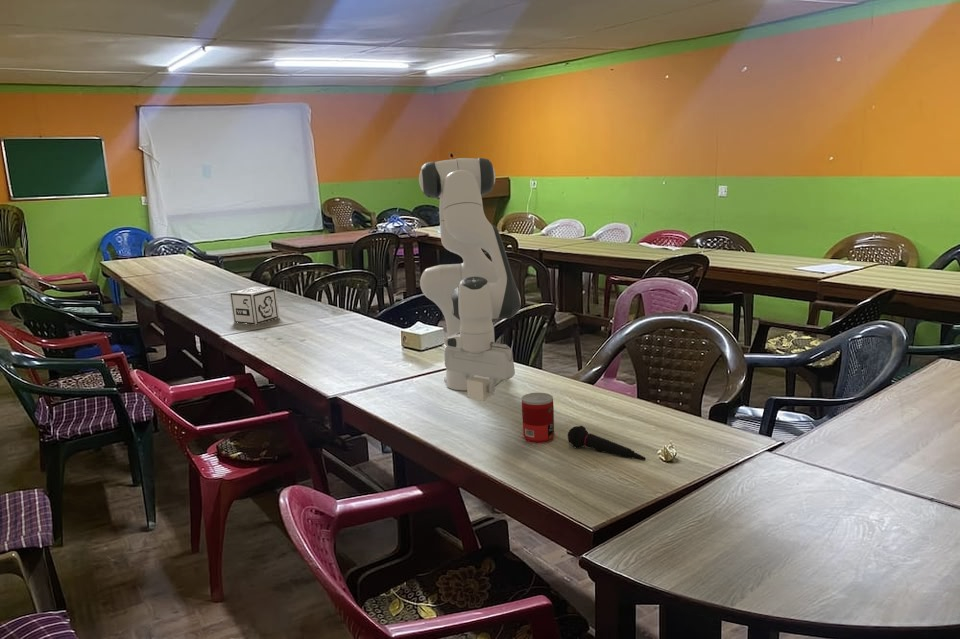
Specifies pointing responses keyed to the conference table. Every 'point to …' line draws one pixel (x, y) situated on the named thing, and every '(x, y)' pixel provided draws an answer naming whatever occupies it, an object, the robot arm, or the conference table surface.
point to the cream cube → (478, 388)
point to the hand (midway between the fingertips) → (480, 390)
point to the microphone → (598, 443)
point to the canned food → (538, 417)
